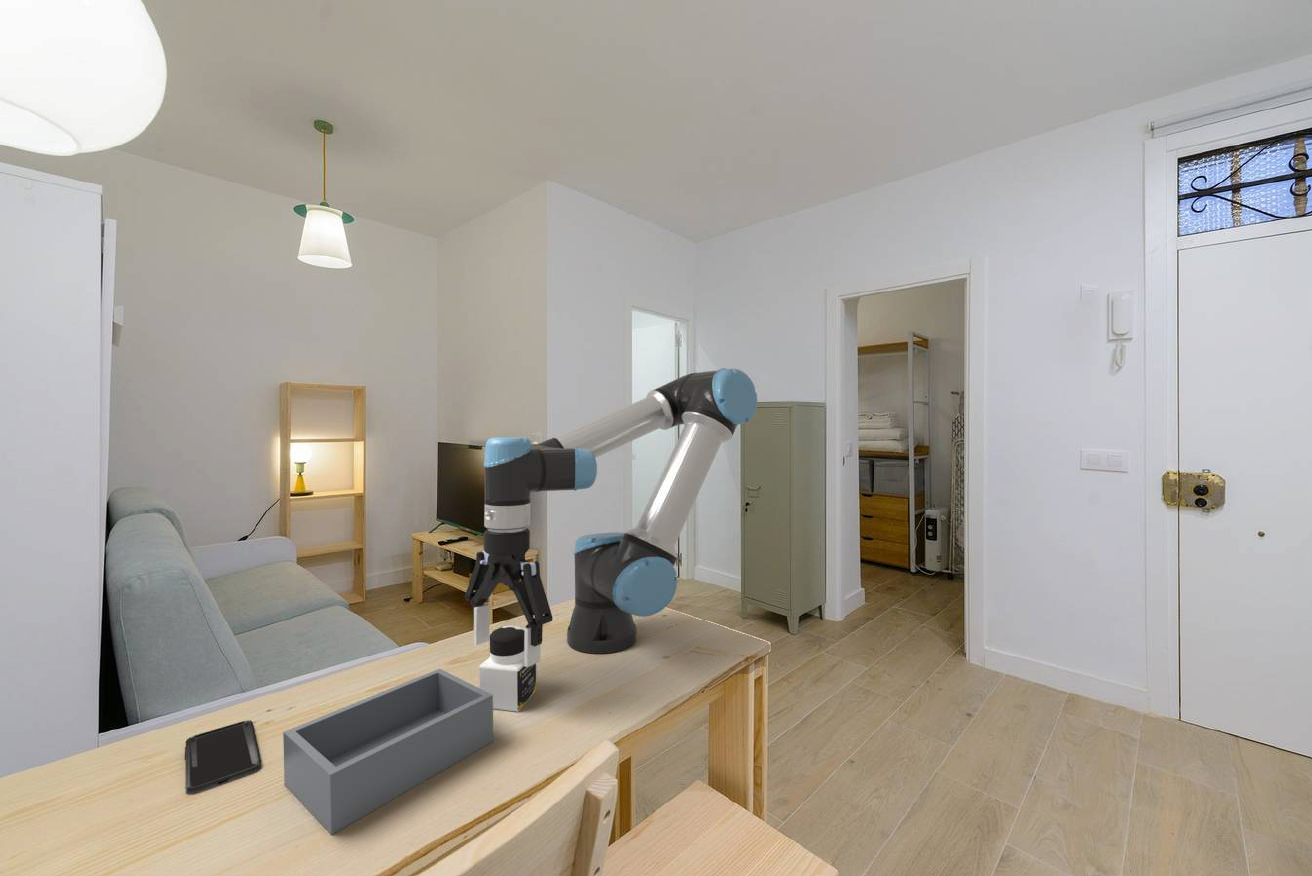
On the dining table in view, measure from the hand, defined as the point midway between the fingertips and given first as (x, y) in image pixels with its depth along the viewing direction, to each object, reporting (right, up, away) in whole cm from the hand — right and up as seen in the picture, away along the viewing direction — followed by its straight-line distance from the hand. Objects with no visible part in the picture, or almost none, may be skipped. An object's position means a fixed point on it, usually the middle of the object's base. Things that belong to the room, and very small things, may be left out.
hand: (505, 652), depth 89 cm
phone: (-36, -9, -15) cm, 40 cm away
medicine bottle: (0, -8, 0) cm, 8 cm away
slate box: (-11, -9, -16) cm, 21 cm away
